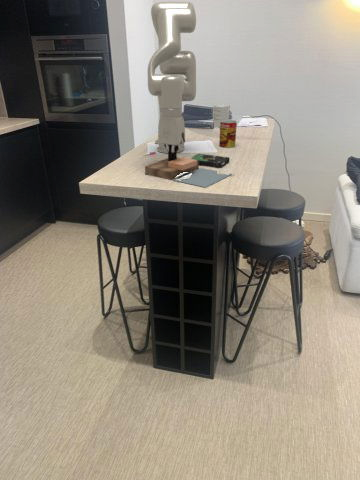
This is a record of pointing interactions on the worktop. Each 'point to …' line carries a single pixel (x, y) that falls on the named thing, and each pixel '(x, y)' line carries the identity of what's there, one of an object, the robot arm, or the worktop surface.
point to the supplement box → (220, 114)
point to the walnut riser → (166, 170)
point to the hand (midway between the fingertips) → (172, 161)
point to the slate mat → (203, 178)
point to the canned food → (227, 133)
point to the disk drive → (211, 160)
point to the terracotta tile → (182, 163)
